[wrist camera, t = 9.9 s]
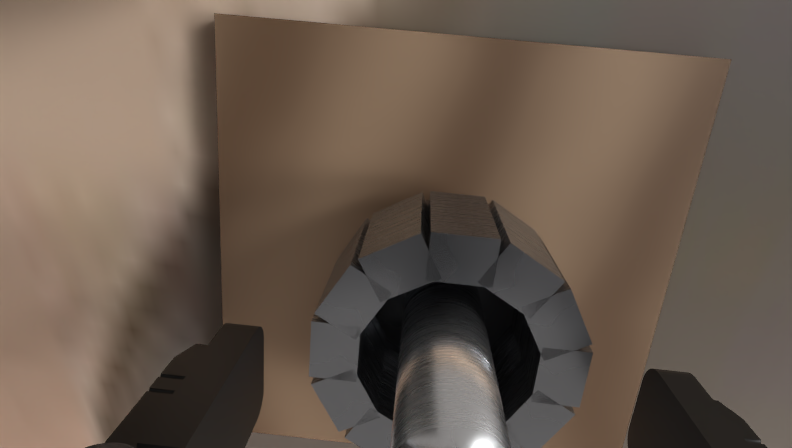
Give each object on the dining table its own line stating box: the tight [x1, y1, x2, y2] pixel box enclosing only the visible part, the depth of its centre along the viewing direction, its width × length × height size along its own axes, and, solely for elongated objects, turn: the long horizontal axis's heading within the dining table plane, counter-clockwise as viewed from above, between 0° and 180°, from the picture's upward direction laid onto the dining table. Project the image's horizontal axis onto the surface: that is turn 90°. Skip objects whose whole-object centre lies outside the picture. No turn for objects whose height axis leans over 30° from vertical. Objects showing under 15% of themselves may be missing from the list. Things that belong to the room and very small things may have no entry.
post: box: [375, 200, 514, 448], centre depth 12 cm, size 5×5×8 cm
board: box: [214, 13, 731, 448], centre depth 17 cm, size 14×14×1 cm
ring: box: [309, 191, 593, 448], centre depth 13 cm, size 6×6×3 cm
